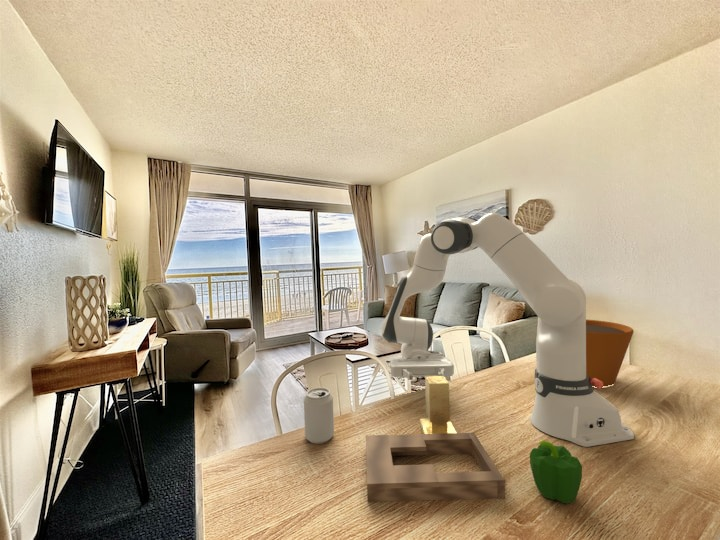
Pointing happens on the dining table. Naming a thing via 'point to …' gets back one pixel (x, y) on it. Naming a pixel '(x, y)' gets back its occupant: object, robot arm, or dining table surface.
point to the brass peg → (437, 406)
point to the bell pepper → (556, 472)
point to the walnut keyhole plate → (428, 469)
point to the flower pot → (606, 349)
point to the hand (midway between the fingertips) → (426, 377)
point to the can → (318, 415)
